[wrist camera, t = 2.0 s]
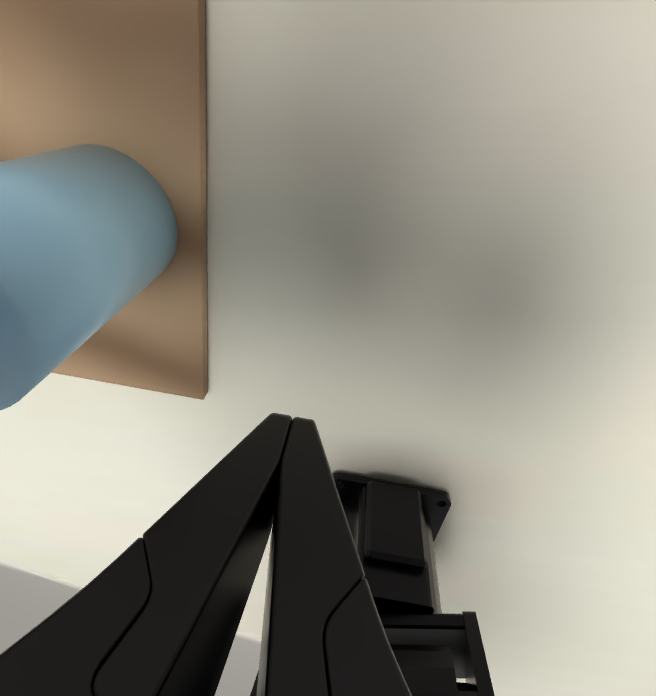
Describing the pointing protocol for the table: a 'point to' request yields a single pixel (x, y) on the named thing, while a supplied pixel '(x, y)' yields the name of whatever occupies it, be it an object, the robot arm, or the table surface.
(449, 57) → the table surface
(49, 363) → the bottle
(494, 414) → the table surface
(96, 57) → the rest
